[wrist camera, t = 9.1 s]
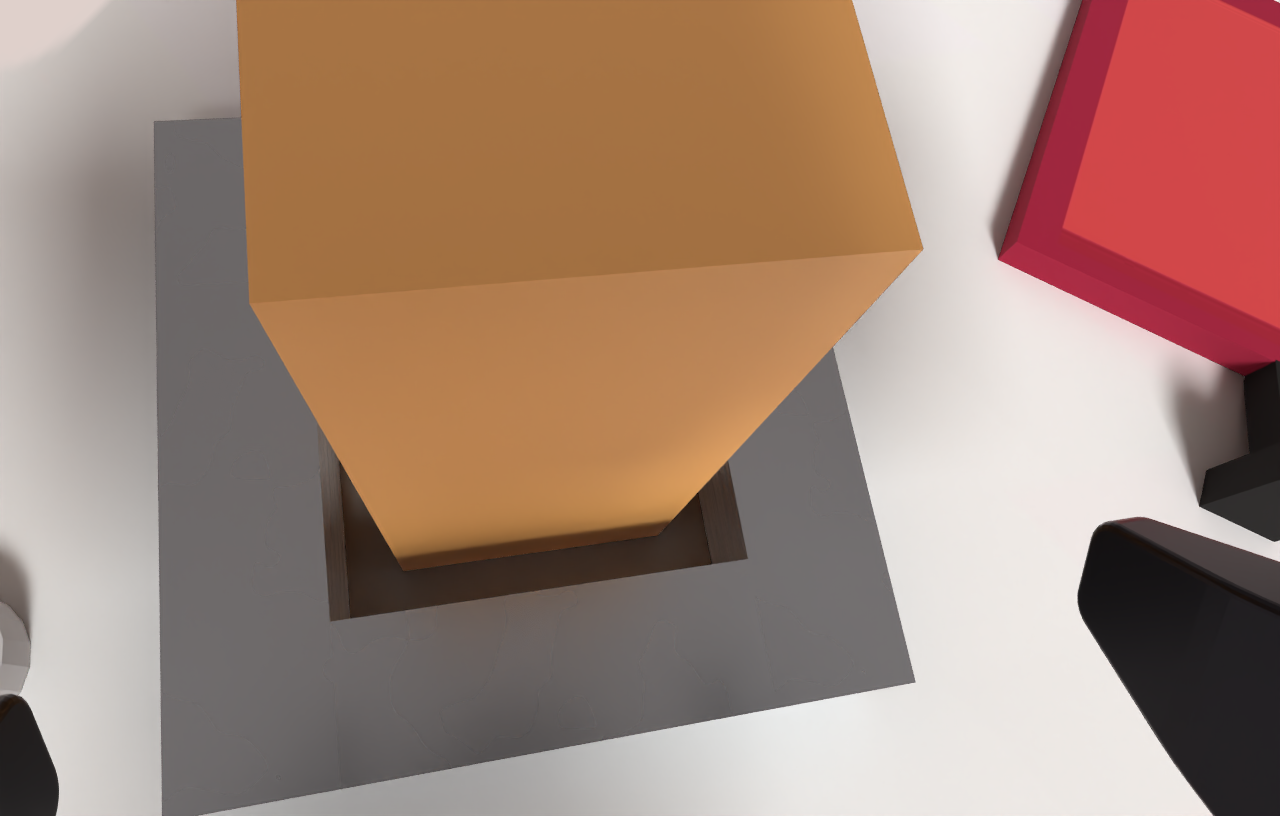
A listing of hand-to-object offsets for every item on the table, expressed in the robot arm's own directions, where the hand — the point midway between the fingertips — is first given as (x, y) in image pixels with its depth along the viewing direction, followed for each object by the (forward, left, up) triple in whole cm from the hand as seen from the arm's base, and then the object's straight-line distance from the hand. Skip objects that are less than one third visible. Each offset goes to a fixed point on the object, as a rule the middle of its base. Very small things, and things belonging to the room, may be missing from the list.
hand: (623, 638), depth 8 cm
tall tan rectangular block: (+5, -1, -10) cm, 11 cm away
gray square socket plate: (+5, -1, -10) cm, 11 cm away
